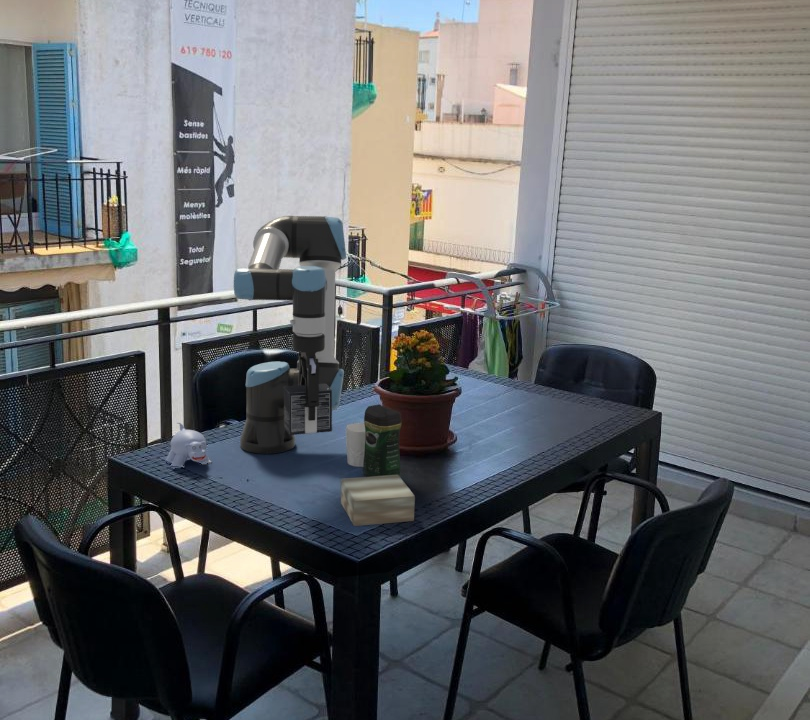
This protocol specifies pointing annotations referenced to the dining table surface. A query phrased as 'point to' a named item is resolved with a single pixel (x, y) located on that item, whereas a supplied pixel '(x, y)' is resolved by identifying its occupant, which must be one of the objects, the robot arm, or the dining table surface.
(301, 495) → the dining table surface
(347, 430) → the white cup
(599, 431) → the dining table surface
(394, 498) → the plinth
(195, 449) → the hippopotamus toy
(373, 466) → the coffee jar
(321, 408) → the small box
